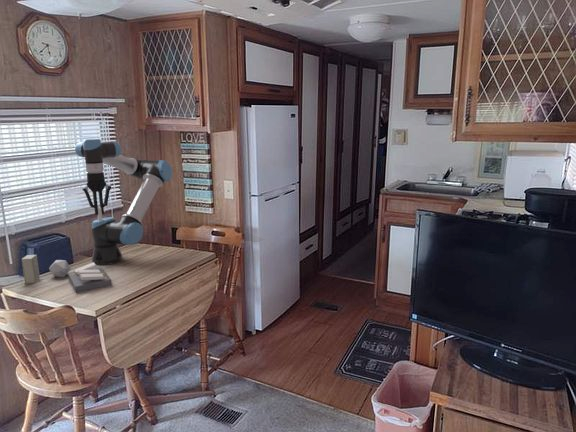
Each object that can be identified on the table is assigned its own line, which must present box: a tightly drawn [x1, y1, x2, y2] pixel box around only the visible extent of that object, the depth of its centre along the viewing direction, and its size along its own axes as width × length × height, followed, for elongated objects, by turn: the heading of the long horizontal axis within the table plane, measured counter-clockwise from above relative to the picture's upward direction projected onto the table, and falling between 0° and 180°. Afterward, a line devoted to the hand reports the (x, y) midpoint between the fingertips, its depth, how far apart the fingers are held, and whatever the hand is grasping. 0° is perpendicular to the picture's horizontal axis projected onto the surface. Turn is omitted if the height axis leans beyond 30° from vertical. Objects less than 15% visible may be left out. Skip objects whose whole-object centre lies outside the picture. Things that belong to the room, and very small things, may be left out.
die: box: [48, 259, 72, 278], centre depth 211 cm, size 8×9×10 cm
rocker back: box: [74, 262, 97, 275], centre depth 207 cm, size 4×9×1 cm, turn 124°
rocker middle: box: [78, 269, 100, 276], centre depth 202 cm, size 4×9×1 cm, turn 124°
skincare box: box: [21, 254, 40, 284], centre depth 204 cm, size 6×4×12 cm
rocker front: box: [80, 274, 104, 280], centre depth 196 cm, size 4×9×1 cm, turn 124°
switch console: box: [67, 267, 113, 294], centre depth 202 cm, size 21×15×4 cm
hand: (100, 220), depth 210 cm, fingers closed
